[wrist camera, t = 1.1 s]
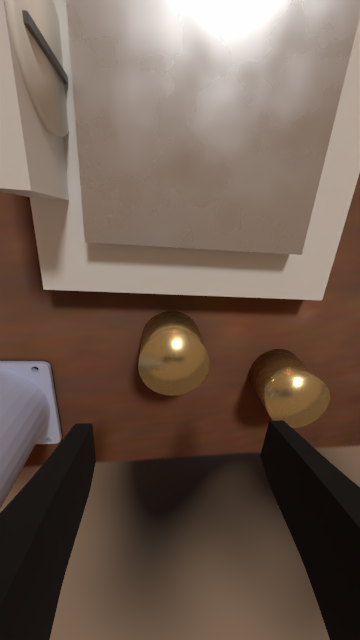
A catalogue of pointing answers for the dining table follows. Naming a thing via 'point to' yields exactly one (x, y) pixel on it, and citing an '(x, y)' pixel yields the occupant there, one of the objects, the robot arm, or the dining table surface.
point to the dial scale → (65, 190)
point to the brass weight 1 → (172, 354)
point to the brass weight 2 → (288, 388)
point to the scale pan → (205, 117)
